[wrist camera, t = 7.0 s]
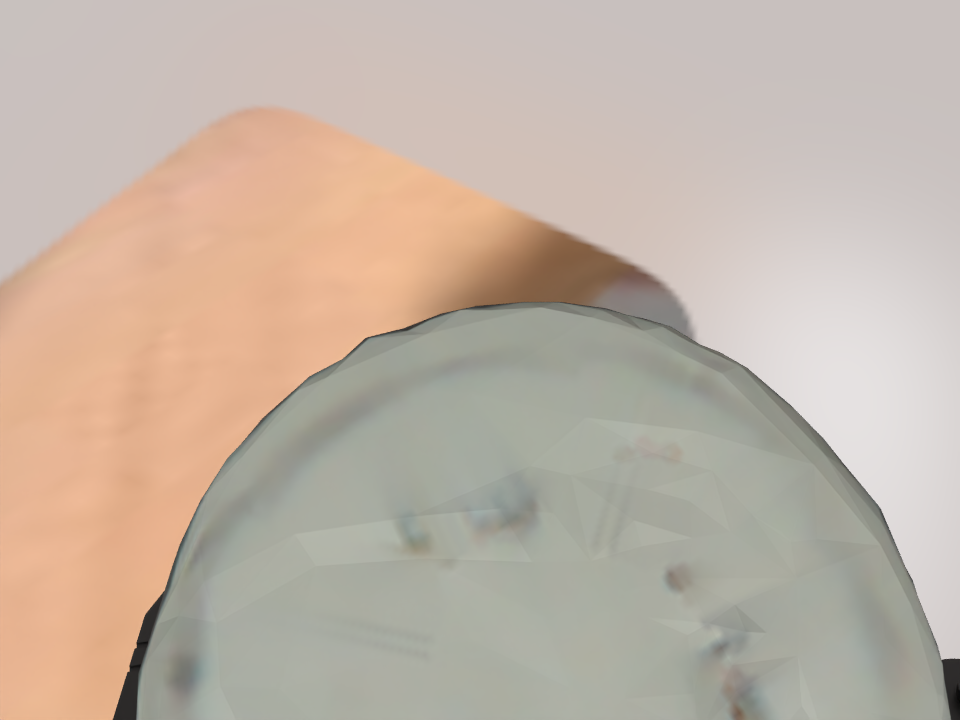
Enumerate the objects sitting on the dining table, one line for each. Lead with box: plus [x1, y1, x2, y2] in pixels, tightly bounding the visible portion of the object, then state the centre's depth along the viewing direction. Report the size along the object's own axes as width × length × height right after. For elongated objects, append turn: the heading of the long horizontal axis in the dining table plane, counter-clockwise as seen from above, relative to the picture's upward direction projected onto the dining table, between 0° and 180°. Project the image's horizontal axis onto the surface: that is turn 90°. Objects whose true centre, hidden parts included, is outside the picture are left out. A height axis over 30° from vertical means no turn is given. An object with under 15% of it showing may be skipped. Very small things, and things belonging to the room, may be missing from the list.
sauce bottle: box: [136, 302, 951, 720], centre depth 13 cm, size 7×6×20 cm
